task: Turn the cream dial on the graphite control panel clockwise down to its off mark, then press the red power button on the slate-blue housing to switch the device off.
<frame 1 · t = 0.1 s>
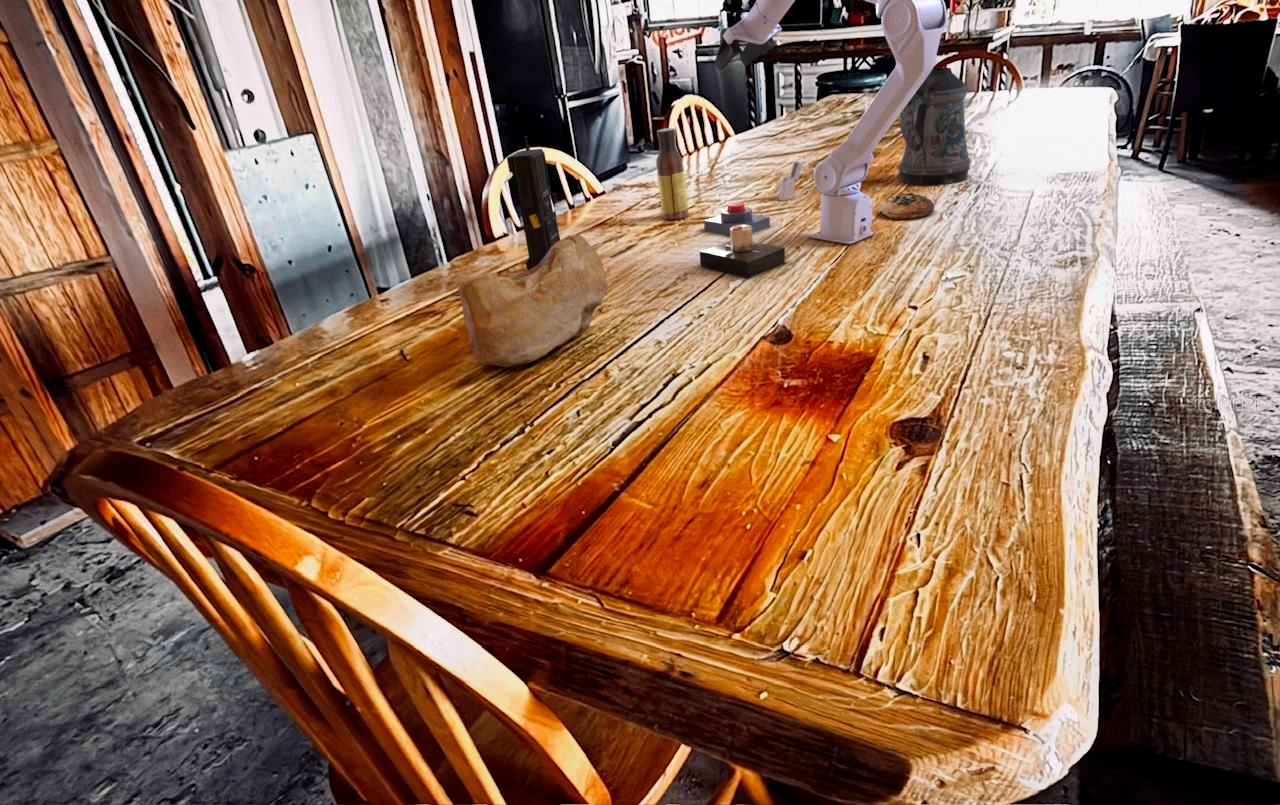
hand: (730, 64, 145), 32 cm above the table, tool tilted 50°, fingers open, 7 cm apart
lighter: (790, 197, 174), on the table
sauce bottle: (674, 218, 168), on the table
beer stein: (931, 180, 176), on the table
dial panel: (742, 265, 131), on the table
power button: (736, 208, 151), point 4 cm above the table, slide at 0.1 cm
rough brown rock: (534, 342, 109), on the table
button box: (736, 228, 153), on the table
portable radio: (547, 272, 140), on the table
dial: (741, 237, 129), point 5 cm above the table, hinge at 90.0°
bread roll: (905, 214, 151), on the table
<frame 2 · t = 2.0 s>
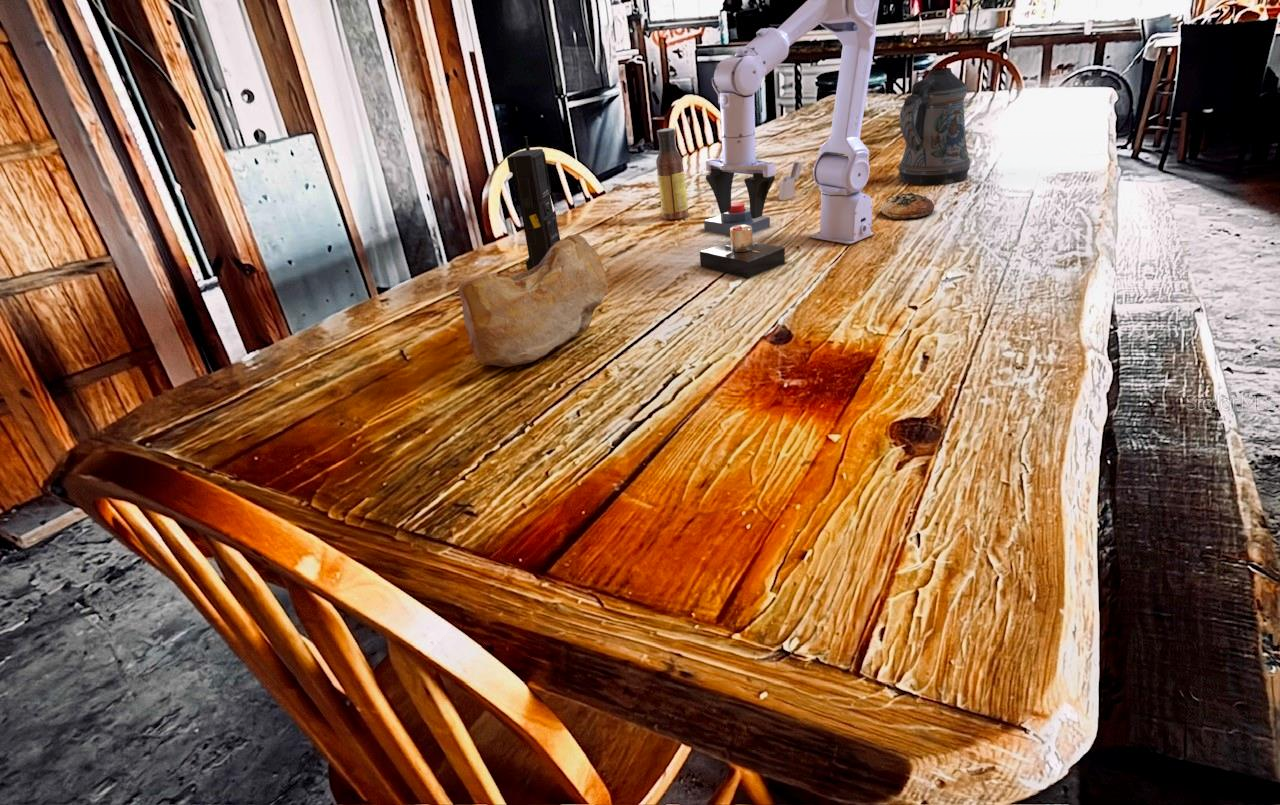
hand: (740, 214, 127), 9 cm above the table, tool pointing down, fingers open, 7 cm apart
nothing on the table moved.
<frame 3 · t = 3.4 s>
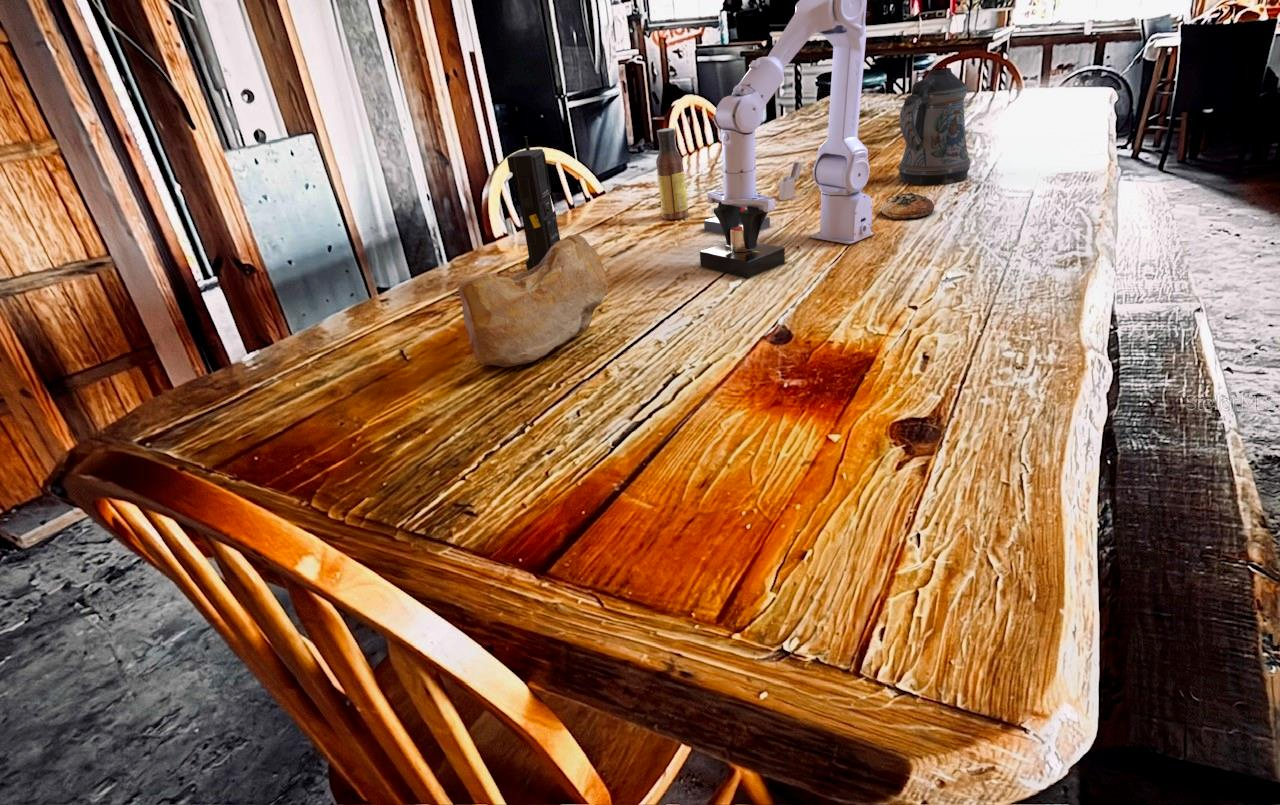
hand: (741, 246, 130), 4 cm above the table, tool pointing down, fingers closed on dial, 4 cm apart
dial: (741, 237, 129), point 5 cm above the table, hinge at 90.0°, touching gripper
everything else where it was.
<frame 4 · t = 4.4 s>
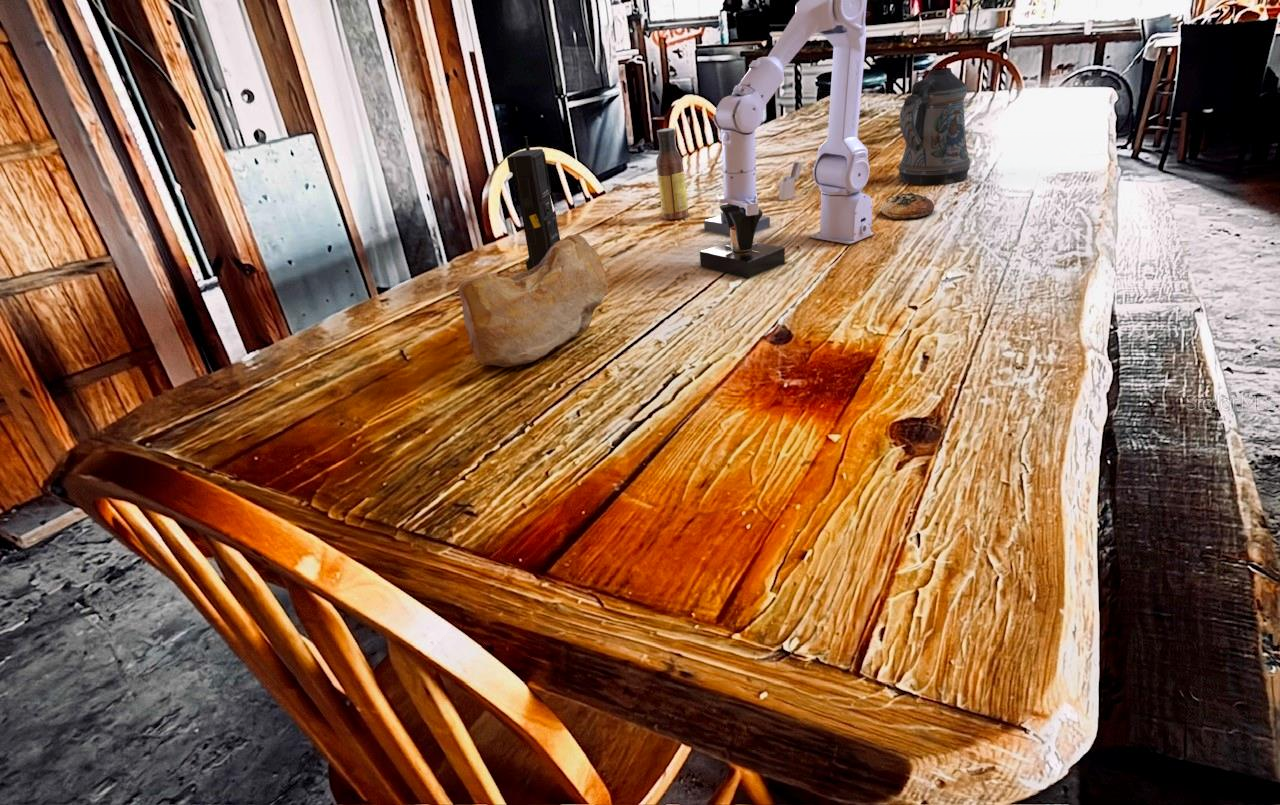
hand: (741, 246, 130), 4 cm above the table, tool pointing down, fingers closed on dial, 4 cm apart
dial: (741, 237, 129), point 5 cm above the table, hinge at 59.8°, touching gripper
everything else where it was.
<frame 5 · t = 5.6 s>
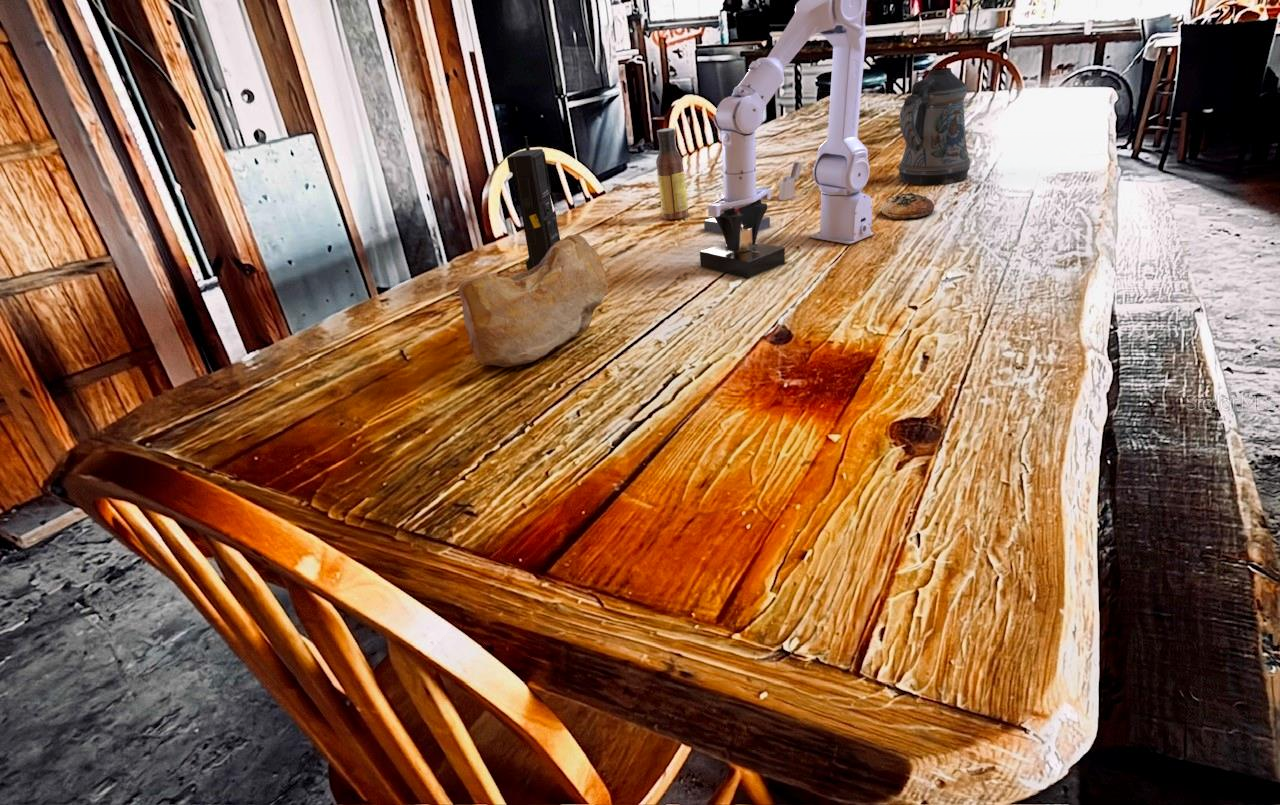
hand: (741, 246, 130), 3 cm above the table, tool pointing down, fingers closed on dial, 4 cm apart
dial: (741, 237, 129), point 5 cm above the table, hinge at 0.3°, touching gripper
everything else where it was.
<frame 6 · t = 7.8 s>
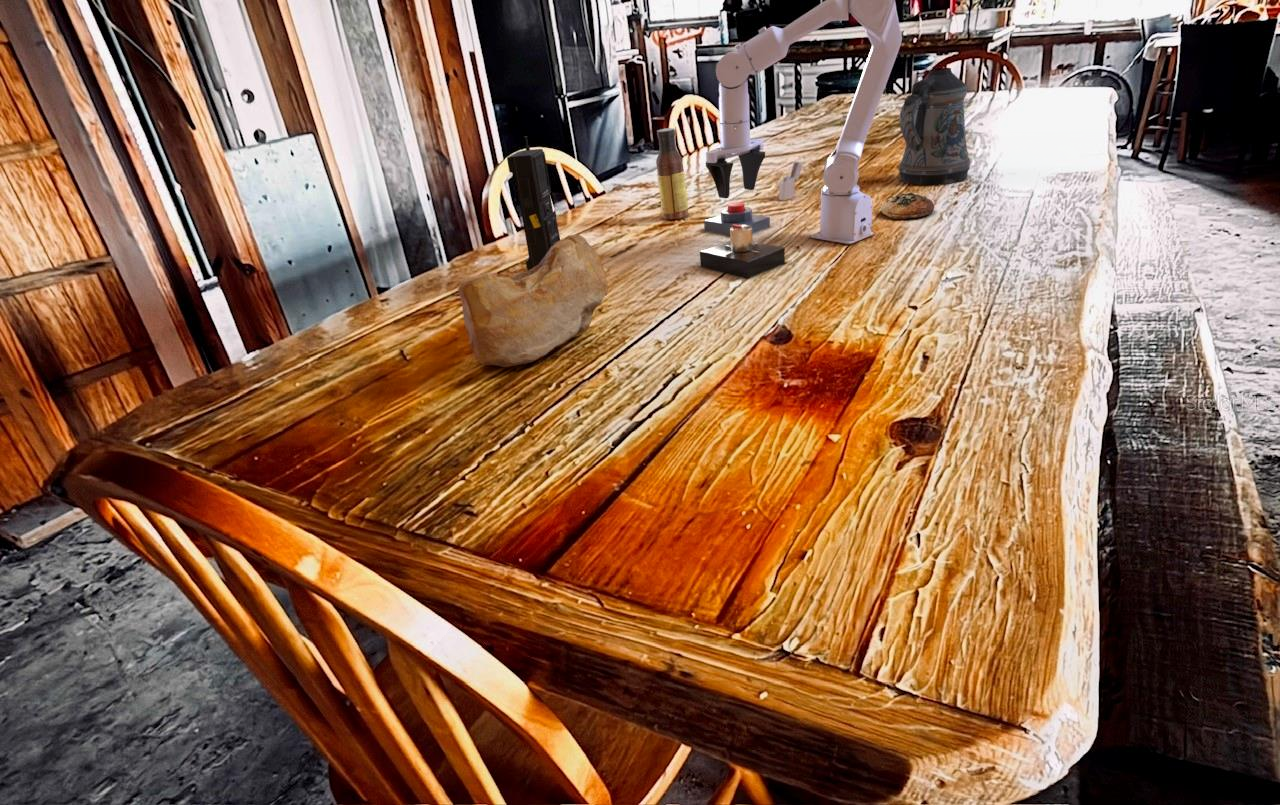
hand: (736, 193, 142), 9 cm above the table, tool pointing down, fingers open, 7 cm apart
dial: (741, 237, 129), point 5 cm above the table, hinge at 0.2°
everything else where it was.
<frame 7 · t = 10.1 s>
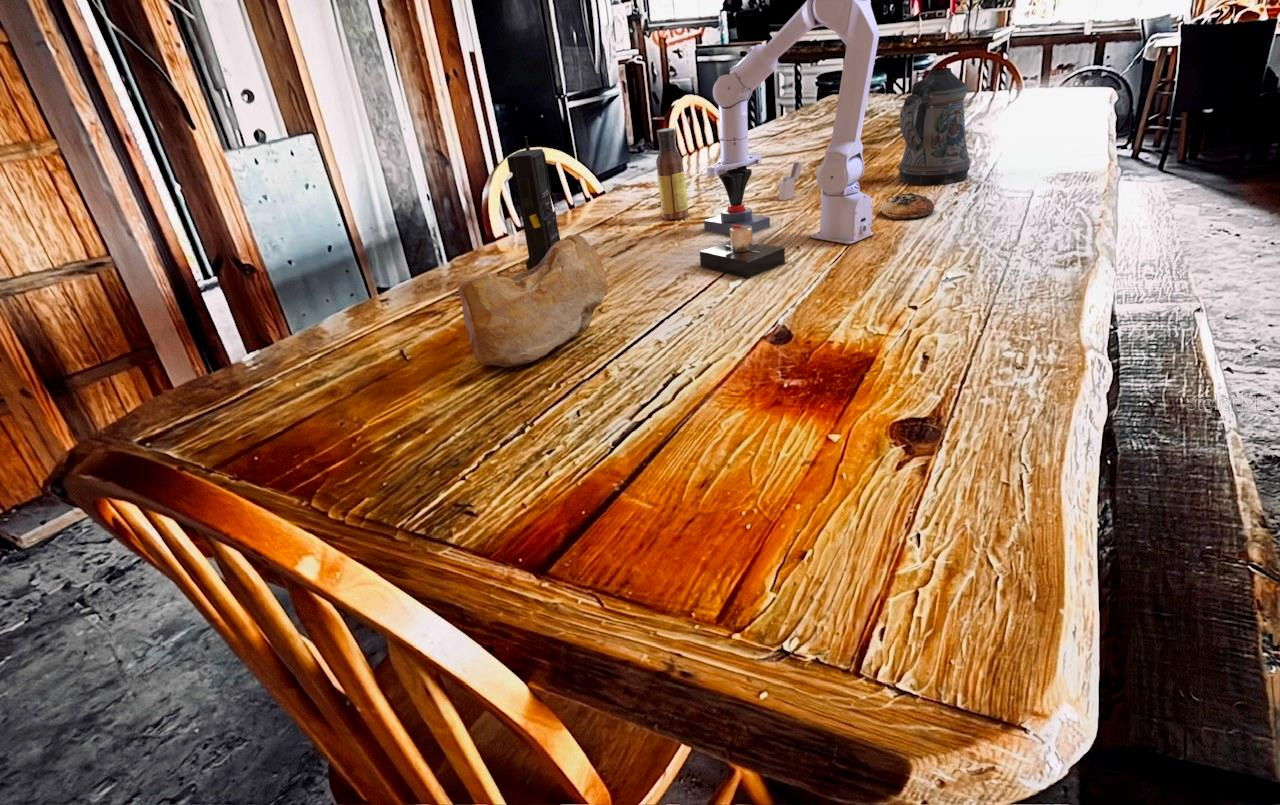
hand: (736, 204, 151), 5 cm above the table, tool pointing down, fingers closed, pressing on power button
power button: (736, 208, 151), point 4 cm above the table, slide at -0.1 cm, touching gripper
everything else where it was.
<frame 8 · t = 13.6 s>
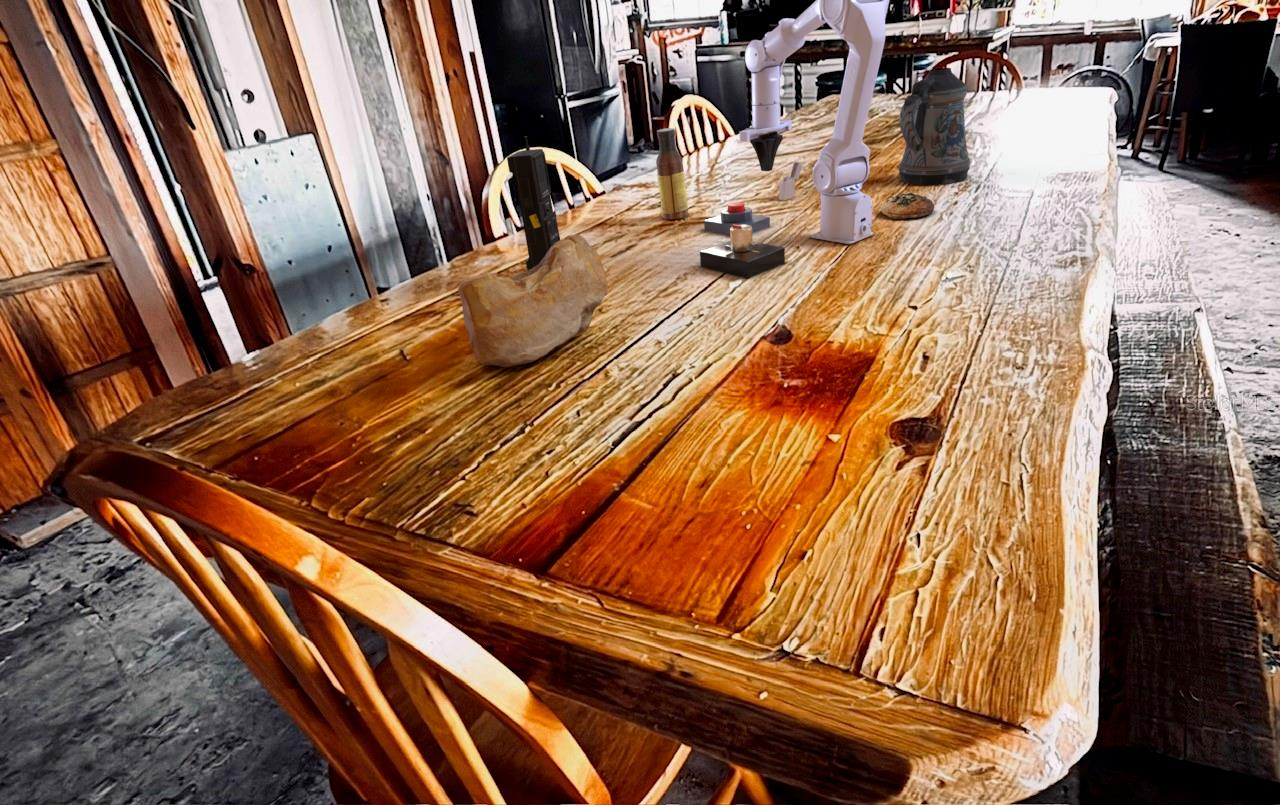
hand: (766, 170, 154), 10 cm above the table, tool pointing down, fingers closed
power button: (736, 208, 151), point 4 cm above the table, slide at 0.1 cm
everything else where it was.
at the end: dial at +0° (first picture: +90°); power button pushed in 1.2 cm at the most during the clip, back to where it started at the end; power button slide at 0.1 cm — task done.
